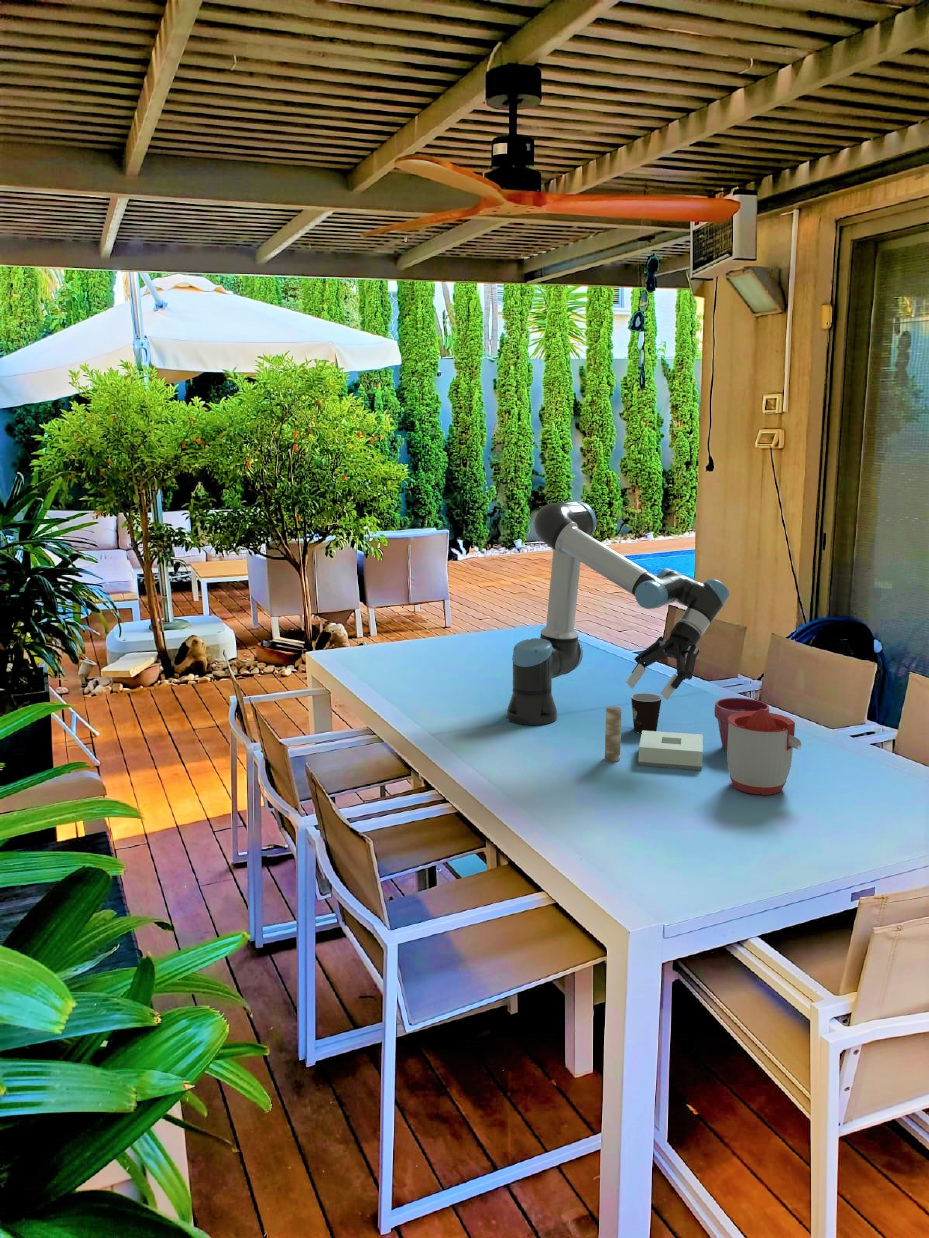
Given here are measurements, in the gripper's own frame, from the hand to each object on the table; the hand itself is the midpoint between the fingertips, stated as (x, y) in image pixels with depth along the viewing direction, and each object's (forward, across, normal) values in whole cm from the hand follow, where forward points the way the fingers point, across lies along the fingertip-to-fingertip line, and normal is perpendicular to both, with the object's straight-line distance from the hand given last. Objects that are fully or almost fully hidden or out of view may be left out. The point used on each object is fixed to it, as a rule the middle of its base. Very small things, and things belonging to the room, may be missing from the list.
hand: (646, 691), depth 253 cm
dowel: (+20, 0, -4) cm, 20 cm away
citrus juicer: (+8, -34, -18) cm, 39 cm away
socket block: (+10, -7, -14) cm, 19 cm away
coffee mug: (+2, +15, -22) cm, 27 cm away
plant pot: (-4, -12, -29) cm, 32 cm away
